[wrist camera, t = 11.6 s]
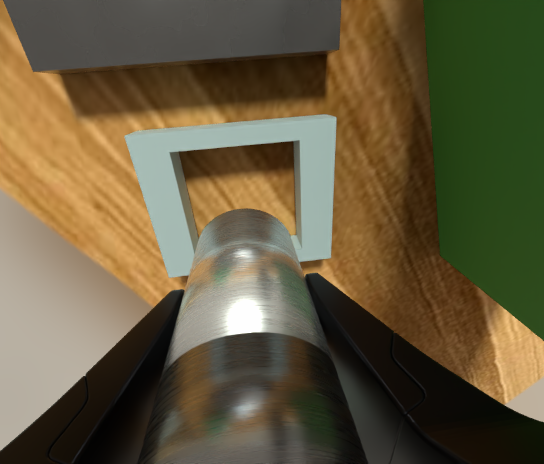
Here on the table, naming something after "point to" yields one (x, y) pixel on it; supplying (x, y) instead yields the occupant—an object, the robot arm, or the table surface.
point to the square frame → (168, 141)
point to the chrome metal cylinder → (249, 359)
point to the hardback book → (490, 145)
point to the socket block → (169, 32)
